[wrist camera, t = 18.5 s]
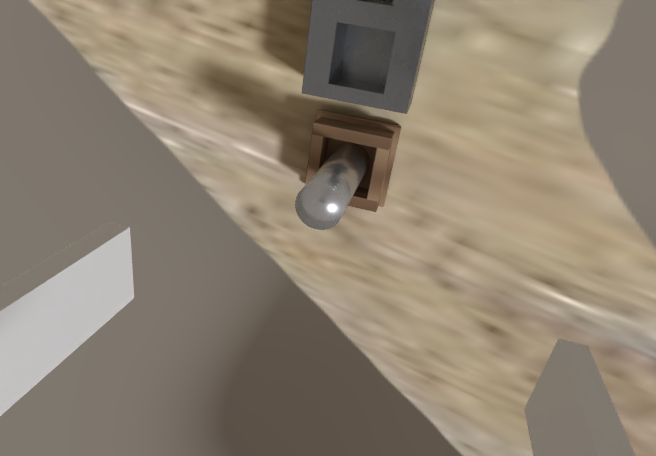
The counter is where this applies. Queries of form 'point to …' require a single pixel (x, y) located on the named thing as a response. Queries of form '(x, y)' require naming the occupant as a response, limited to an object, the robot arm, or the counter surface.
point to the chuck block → (366, 51)
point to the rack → (367, 133)
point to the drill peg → (332, 187)
